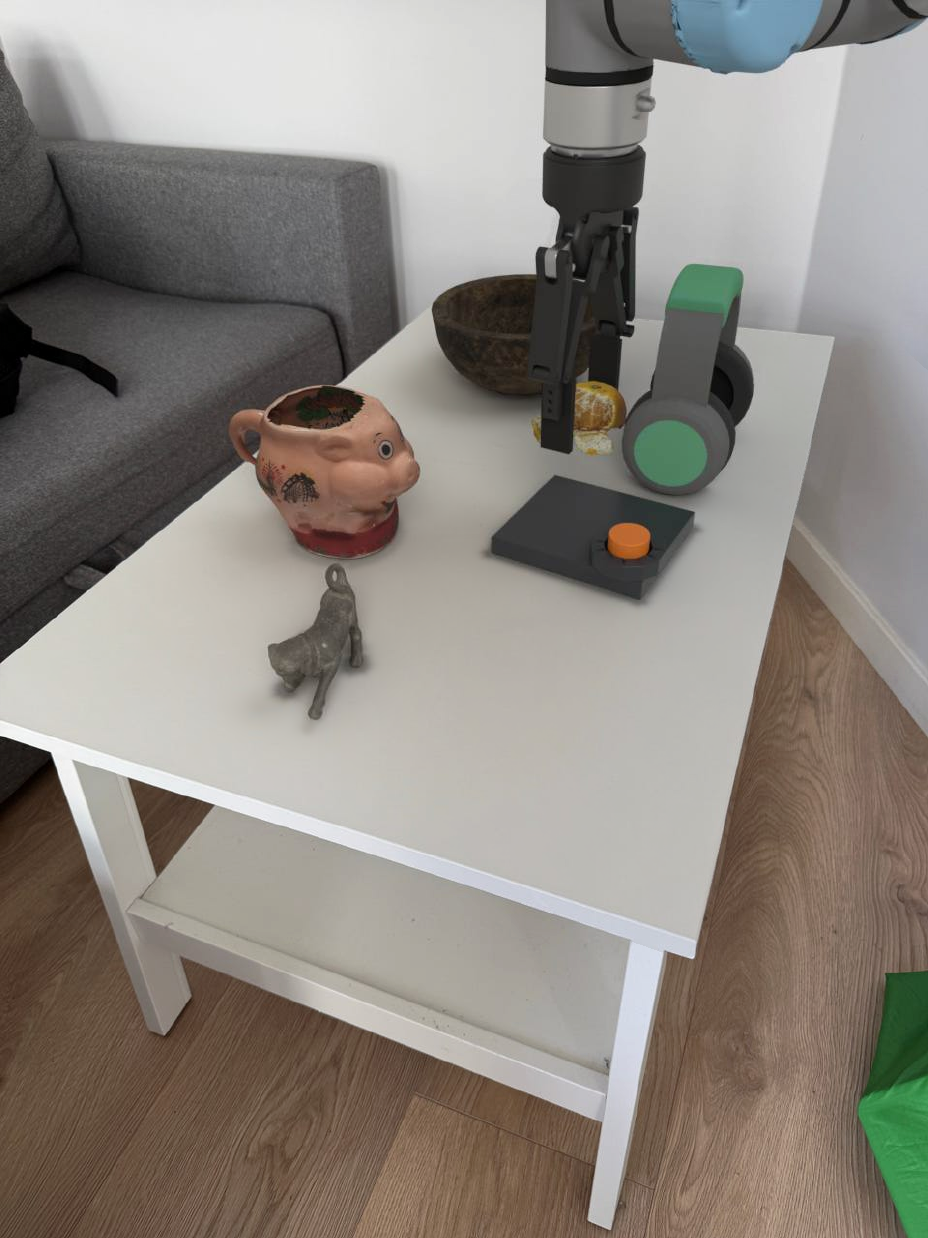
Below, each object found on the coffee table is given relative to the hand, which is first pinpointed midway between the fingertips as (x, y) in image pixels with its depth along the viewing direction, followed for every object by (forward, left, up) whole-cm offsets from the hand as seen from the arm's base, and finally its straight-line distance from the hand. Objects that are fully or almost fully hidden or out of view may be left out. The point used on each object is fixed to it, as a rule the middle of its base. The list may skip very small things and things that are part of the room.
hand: (579, 426), depth 81 cm
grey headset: (-4, -19, -12) cm, 23 cm away
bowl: (+21, -28, -12) cm, 37 cm away
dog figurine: (+9, +28, -12) cm, 32 cm away
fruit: (0, +1, 0) cm, 1 cm away
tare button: (-7, +4, -8) cm, 12 cm away
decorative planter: (+21, +11, -12) cm, 26 cm away
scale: (-2, 0, -11) cm, 12 cm away
